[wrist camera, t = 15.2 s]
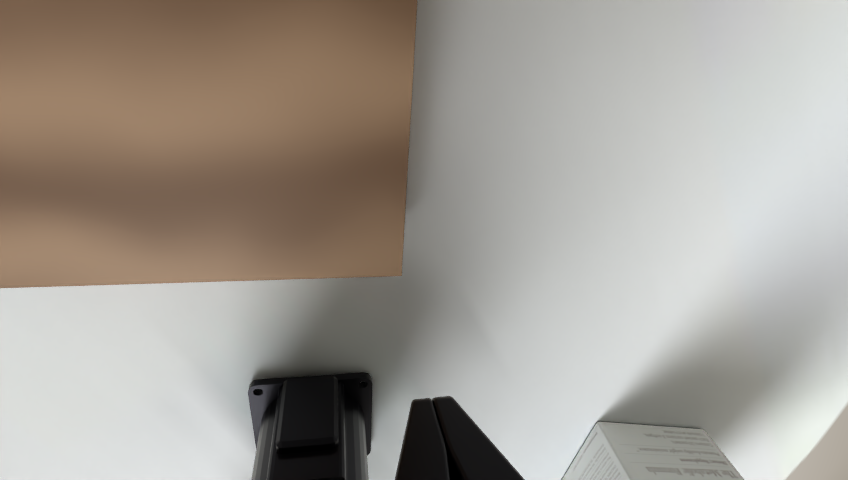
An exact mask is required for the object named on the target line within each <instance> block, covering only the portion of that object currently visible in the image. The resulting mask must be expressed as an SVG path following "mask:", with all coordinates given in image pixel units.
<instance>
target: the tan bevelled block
mask: <svg viewBox="0 0 848 480" xmlns="http://www.w3.org/2000/svg"><path fill="white" fill-rule="evenodd" d="M416 14H417V0H0V288H19V287H52V286H85V285H118V284H151V283H184V282H217V281H250V280H283V279H316V278H349V277H382V276H402V258H403V241H404V223H405V206H406V188H407V171H408V154H409V136H410V119H411V101H412V84H413V66H414V49H415V31H416Z"/></svg>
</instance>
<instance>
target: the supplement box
mask: <svg viewBox="0 0 848 480" xmlns="http://www.w3.org/2000/svg"><path fill="white" fill-rule="evenodd" d="M562 480H744V479H743V477H742V476H741V475H740V474H739V472H738V471H737V470H736V469H735V467H734V466H733V465H732V464H731V463H730V461H729V460H728V459H727V458H726V456H725V455H724V454H723V453H722V451H721V450H720V449H719V448H718V446H717V445H716V444H715V443H714V441H713V440H712V439H711V438H710V436H709V435H708V434H707V433H706V431H705V430H704V429H692V428H679V427H665V426H651V425H638V424H625V423H611V422H597V423H596V425H595V426H594V428H593V430H592V431H591V433H590V434H589V436H588V438H587V439H586V441H585V443H584V444H583V446H582V447H581V449H580V451H579V452H578V454H577V456H576V457H575V459H574V461H573V462H572V464H571V466H570V467H569V469H568V470H567V472H566V474H565V475H564V477H563V479H562Z"/></svg>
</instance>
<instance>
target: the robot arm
mask: <svg viewBox="0 0 848 480" xmlns="http://www.w3.org/2000/svg"><path fill="white" fill-rule="evenodd" d="M362 381H365V382H364V383H360V382H362ZM256 389H261V390H256ZM248 395H249V402H250V409H251V416H252V423H253V430H254V436H255V443H256V455H255V461H254V467H253V473H252V479H251V480H368V465H367V455H368V454H369V453H370V451H371V413H372V378H371V376H370V375H369V374H367V373H351V374H336V375H321V376H306V377H291V378H276V379H261V380H254V381H253V382H251V384H250V386H249V390H248ZM395 480H524V479H523V477H522V476H521V475H520V474H519V473H518V472H517V471H516V469H515V468H514V467H513V466H512V465H511V464H510V463H509V461H508V460H507V459H506V458H505V457H504V456H503V455H502V453H501V452H500V451H499V450H498V449H497V448H496V447H495V445H494V444H493V443H492V442H491V441H490V440H489V439H488V437H487V436H486V435H485V434H484V433H483V432H482V431H481V429H480V428H479V427H478V426H477V425H476V424H475V423H474V421H473V420H472V419H471V418H470V417H469V416H468V415H467V413H466V412H465V411H464V410H463V409H462V408H461V407H460V405H459V404H458V403H457V402H456V401H455V400H454V399H453V398H452V397H450V396H445V397H435V398H433V399H432V400H431V399H430V398H425V399H415V400H413V401H412V403H411V407H410V412H409V417H408V421H407V426H406V431H405V435H404V440H403V444H402V449H401V454H400V458H399V463H398V468H397V472H396V477H395Z"/></svg>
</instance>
